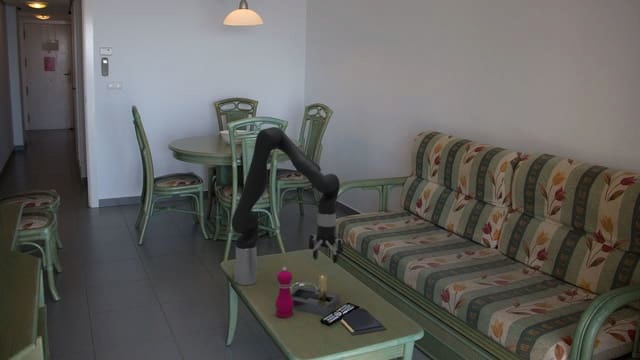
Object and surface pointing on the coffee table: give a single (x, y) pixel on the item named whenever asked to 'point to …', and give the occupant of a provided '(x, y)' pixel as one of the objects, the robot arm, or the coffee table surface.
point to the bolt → (322, 287)
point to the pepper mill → (284, 294)
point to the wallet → (361, 322)
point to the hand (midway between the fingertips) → (325, 260)
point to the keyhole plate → (314, 301)
